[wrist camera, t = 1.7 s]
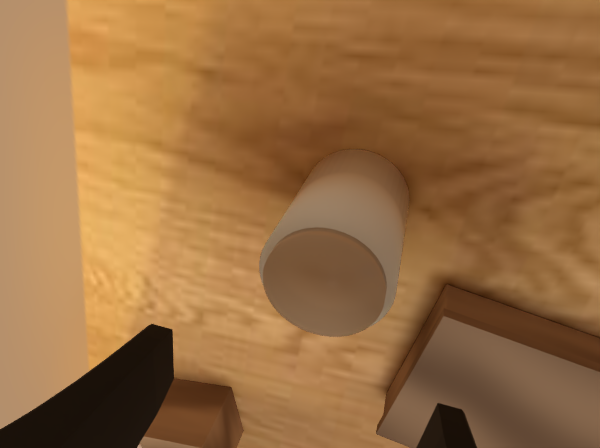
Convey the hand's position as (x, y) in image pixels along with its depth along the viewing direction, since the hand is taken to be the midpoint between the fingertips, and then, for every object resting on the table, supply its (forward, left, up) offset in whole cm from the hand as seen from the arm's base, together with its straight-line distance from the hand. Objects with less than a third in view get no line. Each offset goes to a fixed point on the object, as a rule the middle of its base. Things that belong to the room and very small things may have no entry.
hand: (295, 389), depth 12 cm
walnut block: (+18, -5, -10) cm, 21 cm away
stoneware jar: (-1, 0, -10) cm, 10 cm away
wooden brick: (+6, +11, -10) cm, 16 cm away
